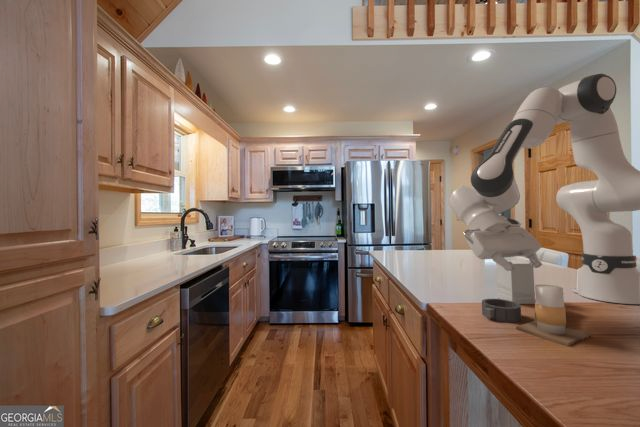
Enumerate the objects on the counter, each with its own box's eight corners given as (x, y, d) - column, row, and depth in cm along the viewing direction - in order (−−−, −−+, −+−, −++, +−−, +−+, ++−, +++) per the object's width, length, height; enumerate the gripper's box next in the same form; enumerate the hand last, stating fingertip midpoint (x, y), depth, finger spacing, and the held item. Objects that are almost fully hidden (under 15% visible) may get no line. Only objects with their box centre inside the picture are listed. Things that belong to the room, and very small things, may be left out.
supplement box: (536, 304, 84) (534, 263, 84) (512, 304, 84) (510, 263, 84) (519, 297, 91) (517, 259, 91) (496, 297, 91) (495, 260, 91)
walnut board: (538, 321, 70) (538, 319, 70) (590, 336, 61) (590, 333, 61) (516, 329, 65) (515, 326, 65) (568, 346, 56) (567, 343, 56)
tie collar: (494, 308, 80) (494, 297, 80) (528, 318, 72) (527, 305, 72) (471, 314, 76) (471, 302, 76) (504, 325, 68) (504, 311, 68)
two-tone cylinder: (544, 324, 66) (542, 283, 67) (571, 332, 61) (569, 288, 62) (531, 328, 64) (528, 286, 65) (558, 336, 59) (555, 290, 60)
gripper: (466, 222, 73) (502, 263, 64) (522, 220, 79) (562, 257, 70) (454, 238, 77) (486, 278, 68) (508, 234, 83) (544, 271, 74)
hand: (525, 268), depth 69 cm, fingers open, 8 cm apart
